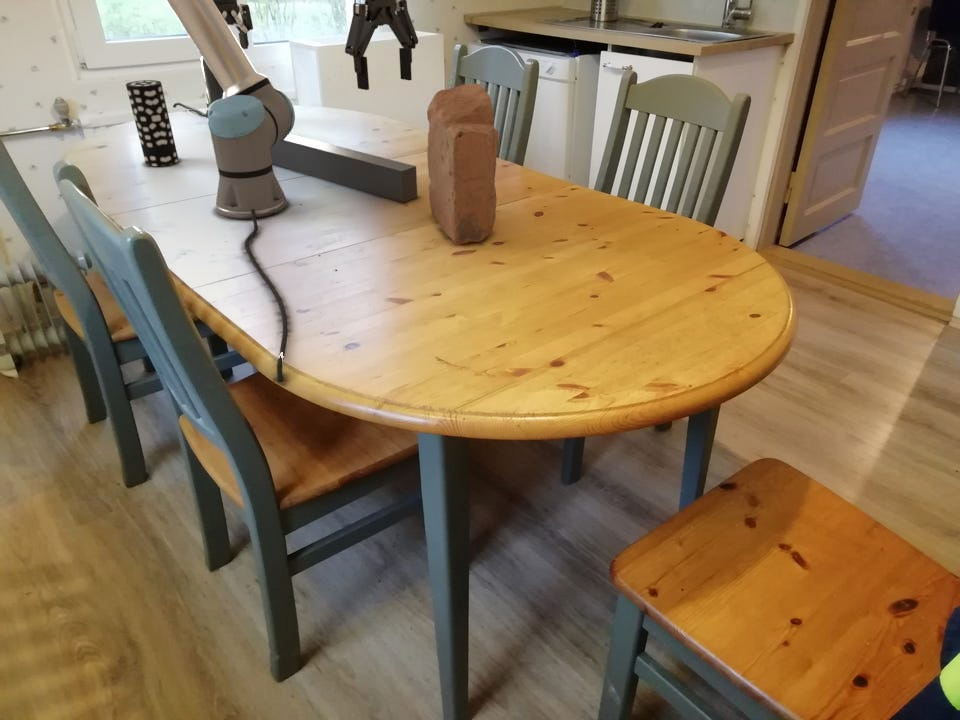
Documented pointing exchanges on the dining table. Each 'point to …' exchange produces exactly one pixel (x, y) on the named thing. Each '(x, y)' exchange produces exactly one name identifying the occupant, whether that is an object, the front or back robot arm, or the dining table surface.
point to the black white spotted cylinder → (152, 122)
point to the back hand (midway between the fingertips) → (230, 50)
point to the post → (347, 167)
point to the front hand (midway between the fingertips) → (385, 84)
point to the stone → (462, 162)
